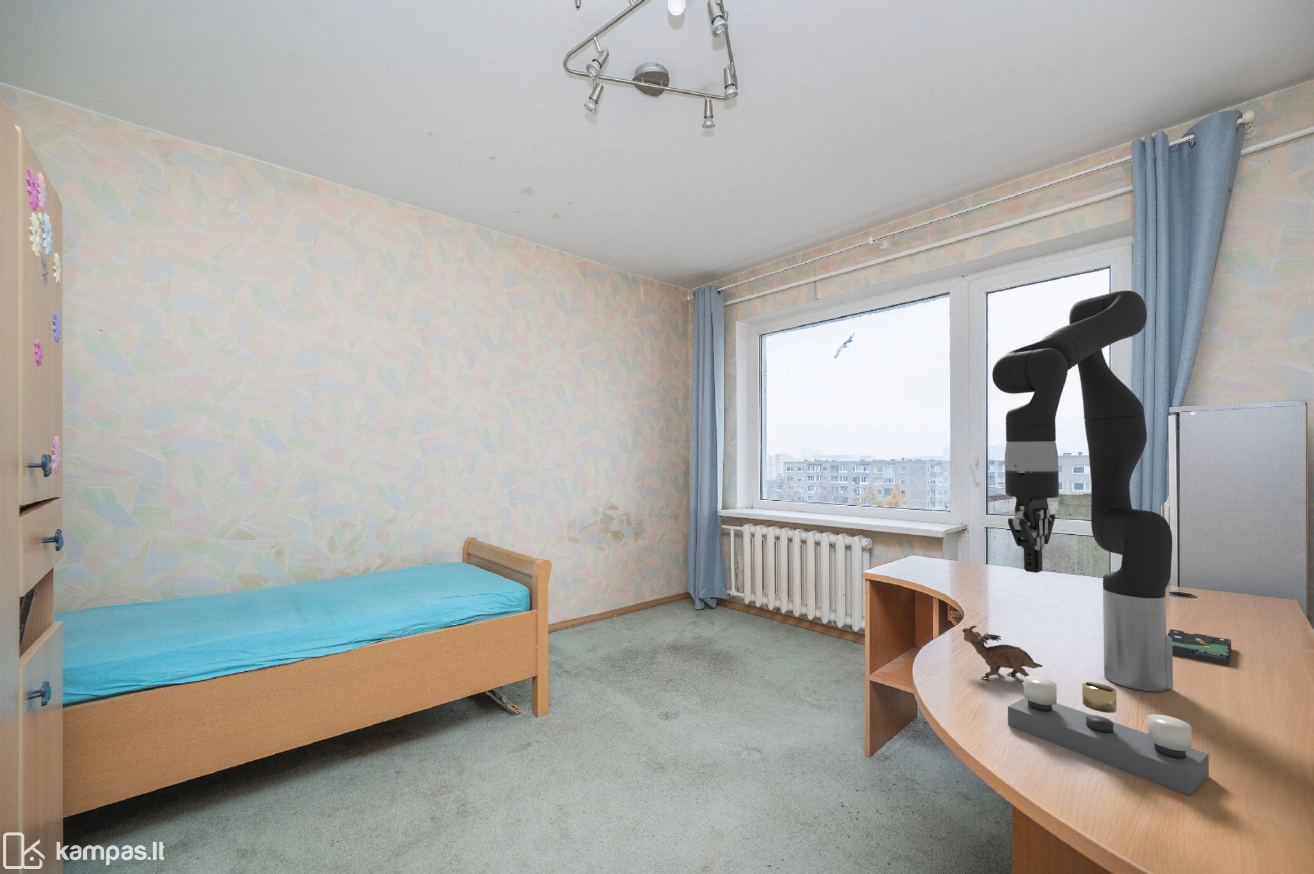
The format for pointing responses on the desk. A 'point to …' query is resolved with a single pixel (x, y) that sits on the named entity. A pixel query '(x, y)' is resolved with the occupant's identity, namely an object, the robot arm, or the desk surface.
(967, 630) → the dinosaur figurine
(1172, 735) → the cream knob
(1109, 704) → the brass dial
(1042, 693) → the cream knob
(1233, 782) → the desk surface
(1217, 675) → the desk surface
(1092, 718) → the control strip
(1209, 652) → the disk drive
